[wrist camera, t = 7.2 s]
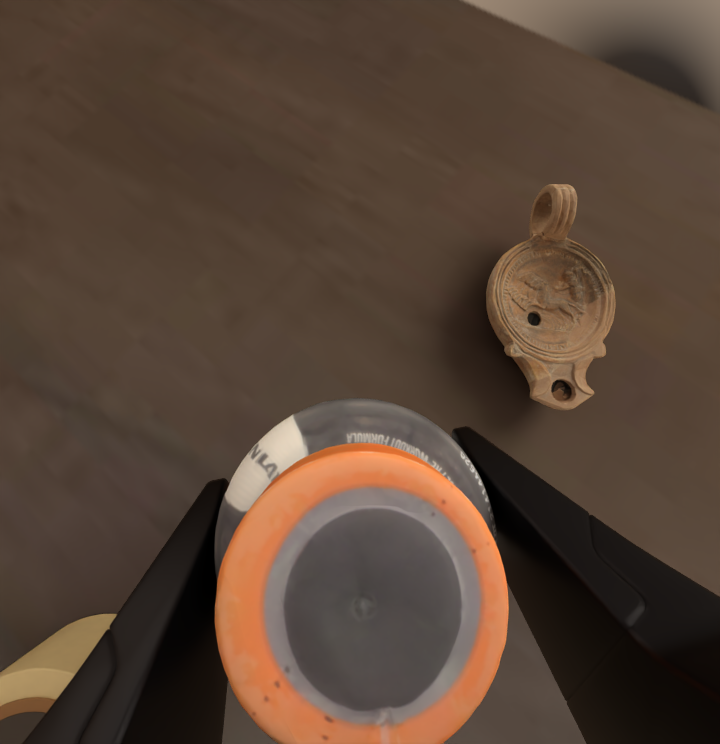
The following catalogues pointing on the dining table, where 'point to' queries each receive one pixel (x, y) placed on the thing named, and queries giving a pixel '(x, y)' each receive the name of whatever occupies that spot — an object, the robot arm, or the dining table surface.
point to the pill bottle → (358, 579)
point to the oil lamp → (552, 303)
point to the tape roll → (45, 675)
